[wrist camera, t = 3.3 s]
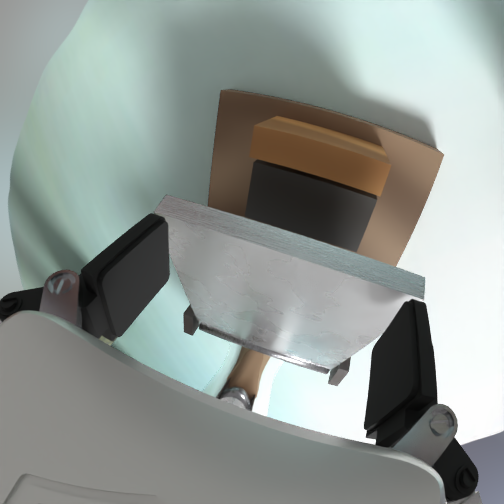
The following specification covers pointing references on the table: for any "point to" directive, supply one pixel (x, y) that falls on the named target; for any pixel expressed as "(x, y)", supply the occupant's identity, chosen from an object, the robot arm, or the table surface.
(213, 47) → the table surface
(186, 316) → the plate
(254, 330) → the grey marble tile
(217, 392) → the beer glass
